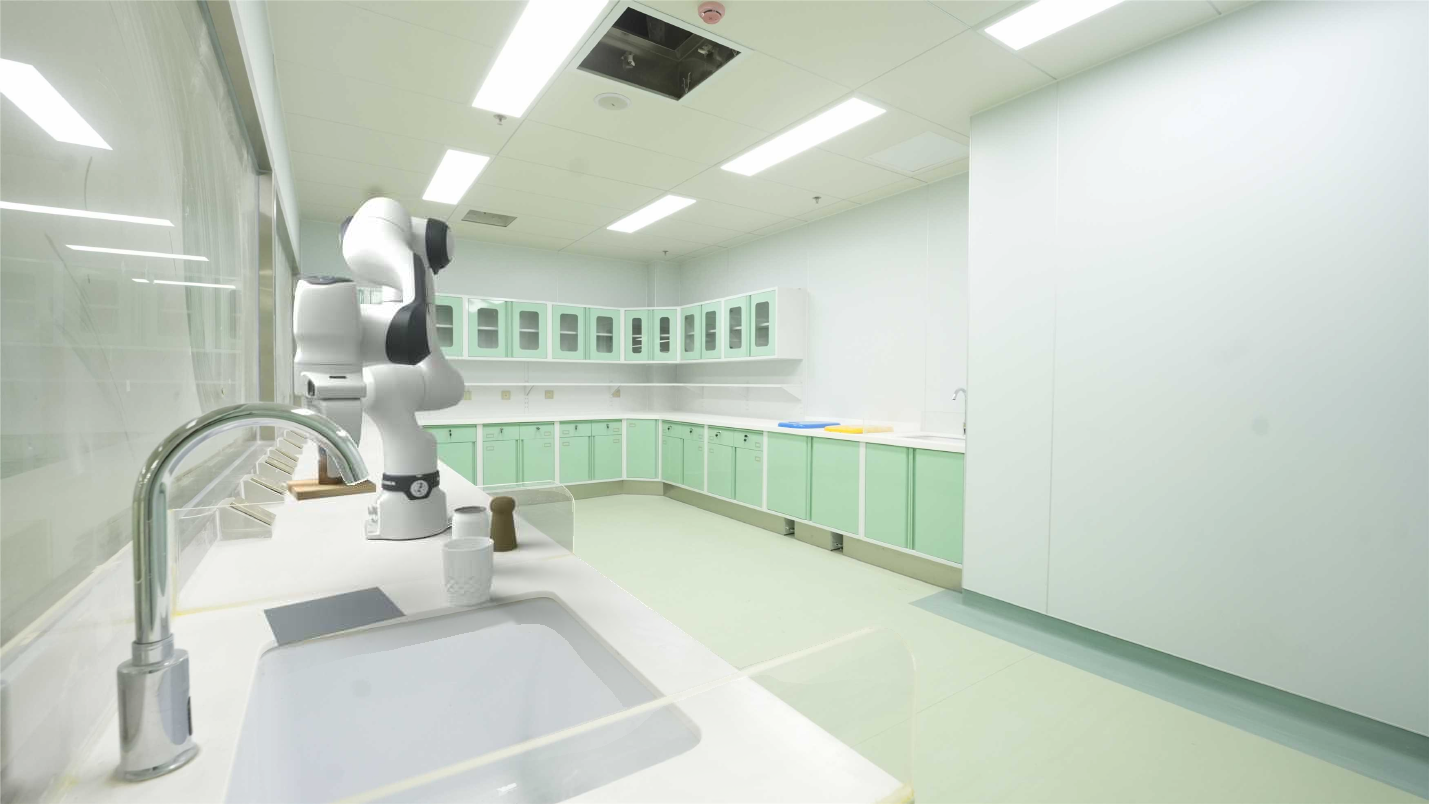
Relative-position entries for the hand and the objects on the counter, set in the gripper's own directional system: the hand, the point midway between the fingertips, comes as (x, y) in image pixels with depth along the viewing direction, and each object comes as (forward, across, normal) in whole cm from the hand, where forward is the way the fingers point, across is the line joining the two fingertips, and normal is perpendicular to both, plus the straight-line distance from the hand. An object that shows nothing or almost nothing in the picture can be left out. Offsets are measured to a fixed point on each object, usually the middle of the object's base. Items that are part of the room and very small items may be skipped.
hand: (330, 474), depth 94 cm
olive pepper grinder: (+23, -19, +35) cm, 46 cm away
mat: (+22, 0, 0) cm, 22 cm away
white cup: (+22, +7, +18) cm, 30 cm away
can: (+22, -8, +24) cm, 34 cm away
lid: (+2, 0, 0) cm, 2 cm away
